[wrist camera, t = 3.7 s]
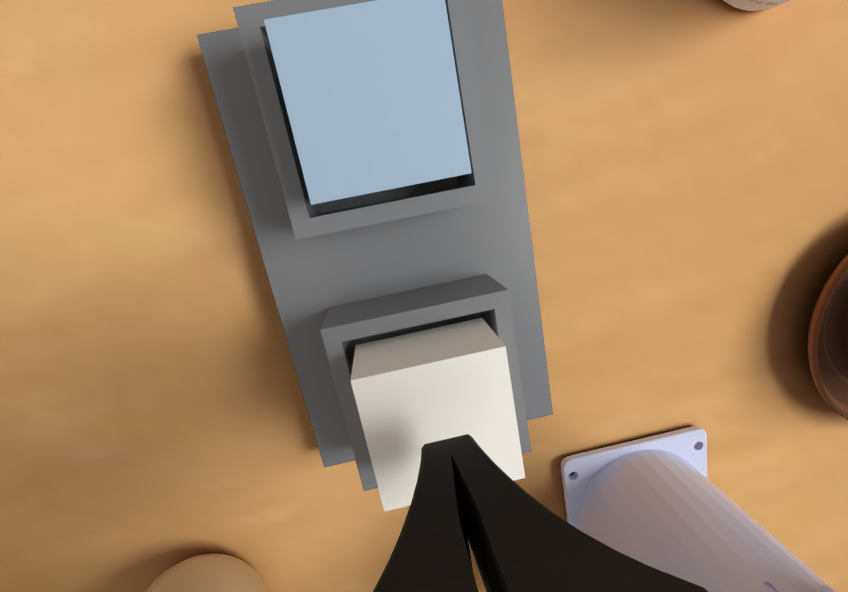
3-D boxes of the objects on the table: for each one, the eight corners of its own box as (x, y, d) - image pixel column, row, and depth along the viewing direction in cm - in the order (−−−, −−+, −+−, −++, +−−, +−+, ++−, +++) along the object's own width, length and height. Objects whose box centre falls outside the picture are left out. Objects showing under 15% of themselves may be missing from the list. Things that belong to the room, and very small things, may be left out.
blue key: (454, 176, 15) (471, 173, 12) (324, 202, 15) (311, 204, 12) (429, 30, 14) (443, -12, 11) (288, 56, 14) (263, 19, 11)
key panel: (541, 399, 21) (582, 452, 17) (328, 448, 21) (314, 516, 16) (489, 1, 17) (528, -67, 12) (213, 49, 16) (151, -4, 12)
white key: (500, 428, 17) (525, 477, 14) (383, 455, 17) (384, 511, 14) (481, 317, 16) (505, 346, 13) (355, 344, 15) (350, 380, 12)
